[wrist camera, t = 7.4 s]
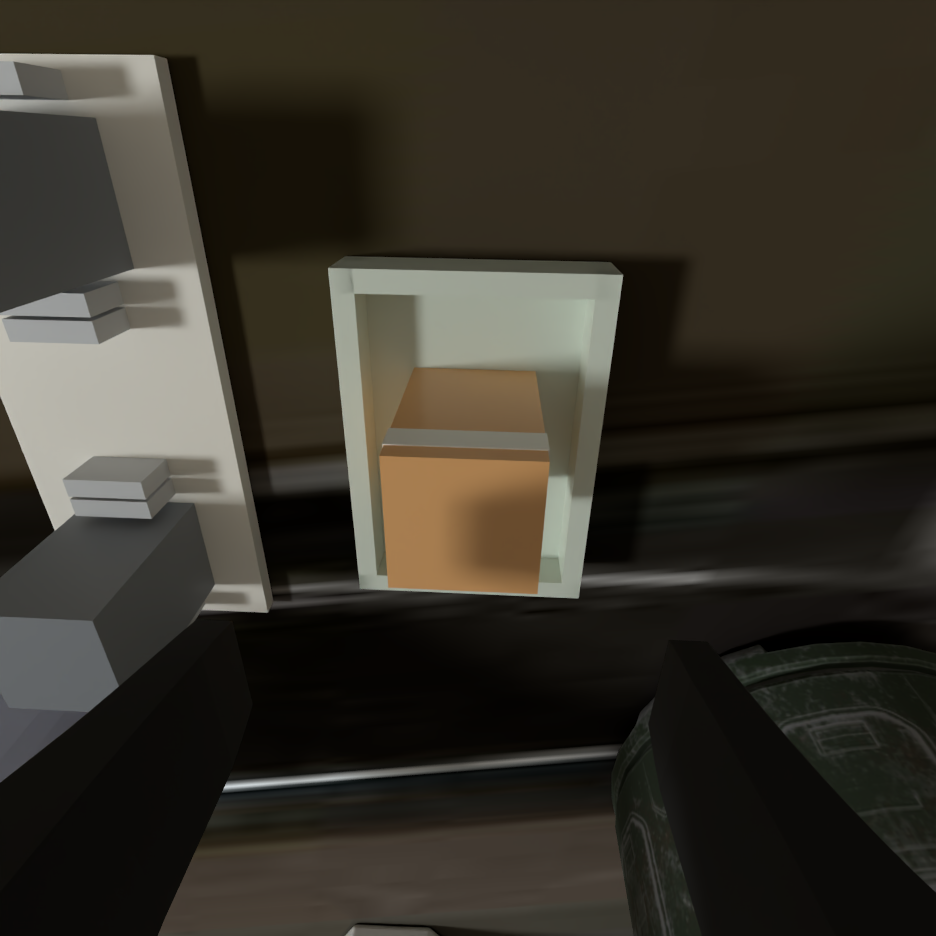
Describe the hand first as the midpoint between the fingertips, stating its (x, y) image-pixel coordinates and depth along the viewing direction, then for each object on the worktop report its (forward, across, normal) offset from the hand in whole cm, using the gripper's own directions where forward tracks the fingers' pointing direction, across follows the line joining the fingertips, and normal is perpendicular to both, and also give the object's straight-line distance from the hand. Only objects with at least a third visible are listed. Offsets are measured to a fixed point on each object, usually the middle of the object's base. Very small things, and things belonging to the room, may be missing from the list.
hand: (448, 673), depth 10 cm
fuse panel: (+10, +11, -1) cm, 15 cm away
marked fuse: (+9, 0, 0) cm, 9 cm away
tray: (+10, 0, 0) cm, 10 cm away
